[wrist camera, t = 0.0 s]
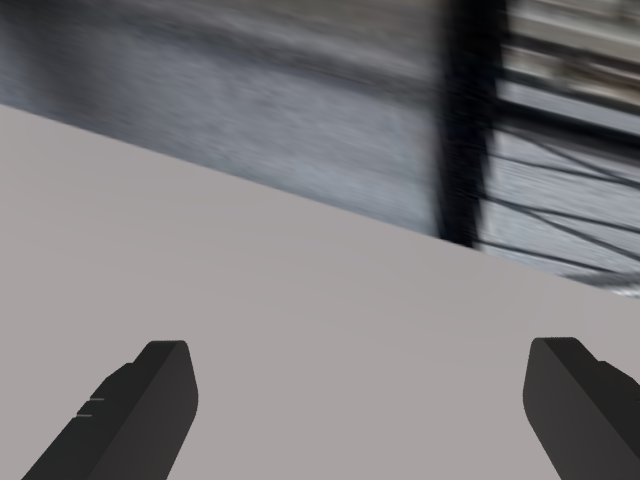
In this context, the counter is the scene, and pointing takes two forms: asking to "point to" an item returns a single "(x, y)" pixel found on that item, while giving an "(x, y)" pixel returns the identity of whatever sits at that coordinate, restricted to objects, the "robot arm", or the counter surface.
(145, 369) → the robot arm
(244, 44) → the counter surface
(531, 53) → the counter surface
